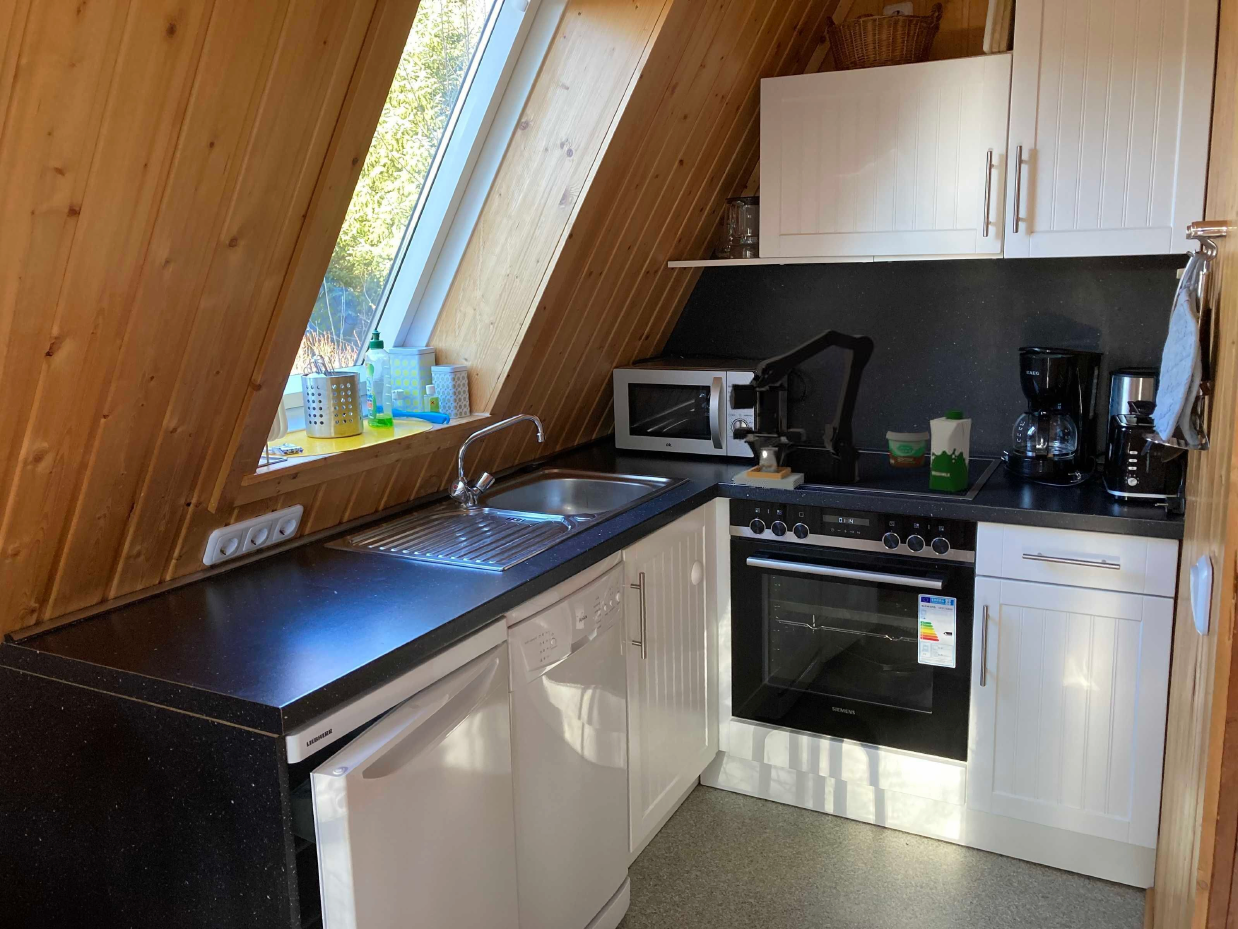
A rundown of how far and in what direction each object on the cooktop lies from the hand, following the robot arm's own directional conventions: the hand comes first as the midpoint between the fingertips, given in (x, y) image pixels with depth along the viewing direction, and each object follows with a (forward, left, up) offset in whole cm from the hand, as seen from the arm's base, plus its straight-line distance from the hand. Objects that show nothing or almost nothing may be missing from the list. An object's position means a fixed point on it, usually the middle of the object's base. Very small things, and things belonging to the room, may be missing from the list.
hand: (769, 466), depth 269 cm
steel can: (0, 0, -1) cm, 1 cm away
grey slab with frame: (0, 0, -5) cm, 5 cm away
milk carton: (-45, -10, -5) cm, 46 cm away
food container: (-30, -39, -5) cm, 49 cm away
